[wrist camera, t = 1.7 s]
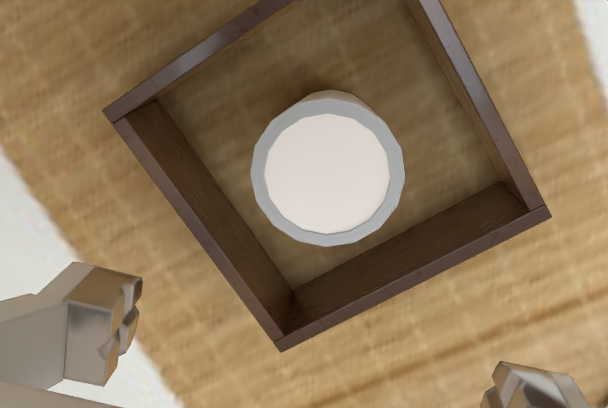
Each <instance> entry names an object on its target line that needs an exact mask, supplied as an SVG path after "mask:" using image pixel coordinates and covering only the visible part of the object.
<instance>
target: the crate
mask: <svg viewBox="0 0 608 408" xmlns="http://www.w3.org/2000/svg"><path fill="white" fill-rule="evenodd" d="M302 1H303V0H260V1H258V2H257V3H255V4H254V5H252V6H251V7H249V8H248V9H247V10H245V11H244V12H242V13H241V14H239V15H238V16H236V17H235V18H234V19H232V20H231V21H229V22H228V23H226V24H225V25H223V26H222V27H221V28H219V29H218V30H216V31H215V32H213V33H212V34H210V35H209V36H208V37H206V38H205V39H203V40H202V41H200V42H199V43H198V44H196V45H195V46H193V47H192V48H190V49H189V50H187V51H186V52H185V53H183V54H182V55H180V56H179V57H177V58H176V59H174V60H173V61H172V62H170V63H169V64H167V65H166V66H164V67H163V68H161V69H160V70H159V71H157V72H156V73H154V74H153V75H151V76H150V77H148V78H147V79H146V80H144V81H143V82H141V83H140V84H138V85H137V86H135V87H134V88H133V89H131V90H130V91H128V92H127V93H125V94H124V95H123V96H121V97H120V98H118V99H117V100H115V101H114V102H112V103H111V104H110V105H108V106H107V107H105V108H104V109H102V112H103V113H104V115H105V116H106V117H107V119H108V120H109V121H110V123H111V124H113V127H114V128H115V129H116V131H117V132H118V133H119V135H120V136H121V137H122V139H123V140H124V142H125V143H126V144H127V146H128V147H129V148H130V150H131V151H132V152H133V154H134V155H135V156H136V158H137V159H138V160H139V162H140V163H141V165H142V166H143V167H144V169H145V170H146V171H147V173H148V174H149V175H150V177H151V178H152V179H153V181H154V182H155V183H156V185H157V186H158V187H159V189H160V190H161V192H162V193H163V194H164V196H165V197H166V198H167V200H168V201H169V202H170V204H171V205H172V206H173V208H174V209H175V210H176V212H177V213H178V215H179V216H180V217H181V219H182V220H183V221H184V223H185V224H186V225H187V227H188V228H189V229H190V231H191V232H192V233H193V235H194V236H195V238H196V239H197V240H198V242H199V243H200V244H201V246H202V247H203V248H204V250H205V251H206V252H207V254H208V255H209V256H210V258H211V259H212V260H213V262H214V263H215V265H216V266H217V267H218V269H219V270H220V271H221V273H222V274H223V275H224V277H225V278H226V279H227V281H228V282H229V283H230V285H231V286H232V288H233V289H234V290H235V292H236V293H237V294H238V296H239V297H240V298H241V300H242V301H243V302H244V304H245V305H246V306H247V308H248V309H249V310H250V312H251V313H252V315H253V316H254V317H255V319H256V320H257V321H258V323H259V324H260V325H261V327H262V328H263V329H264V331H265V332H266V333H267V335H268V336H269V338H270V339H271V340H272V341H273V343H274V344H275V346H276V347H277V348H278V350H279V351H280V352H281V353H282V352H284V351H286V350H288V349H290V348H292V347H294V346H296V345H298V344H300V343H302V342H304V341H306V340H308V339H310V338H312V337H314V336H316V335H318V334H320V333H322V332H324V331H326V330H328V329H330V328H332V327H334V326H336V325H338V324H340V323H342V322H344V321H346V320H348V319H350V318H352V317H354V316H356V315H358V314H360V313H362V312H364V311H366V310H368V309H370V308H372V307H374V306H376V305H378V304H380V303H382V302H384V301H386V300H388V299H390V298H392V297H394V296H396V295H398V294H400V293H402V292H404V291H406V290H408V289H410V288H412V287H414V286H416V285H418V284H420V283H422V282H424V281H426V280H428V279H430V278H432V277H434V276H436V275H438V274H440V273H442V272H444V271H446V270H448V269H450V268H452V267H454V266H456V265H458V264H460V263H462V262H464V261H466V260H468V259H470V258H472V257H474V256H476V255H478V254H480V253H482V252H484V251H486V250H488V249H490V248H492V247H494V246H496V245H498V244H500V243H502V242H504V241H506V240H508V239H510V238H512V237H514V236H516V235H518V234H520V233H522V232H524V231H526V230H528V229H530V228H532V227H534V226H536V225H538V224H540V223H542V222H544V221H546V220H548V219H550V218H551V217H552V215H551V214H550V212H549V210H548V208H547V206H546V204H545V202H544V200H543V198H542V196H541V194H540V192H539V190H538V188H537V187H536V185H535V183H534V181H533V179H532V177H531V175H530V173H529V171H528V169H527V167H526V165H525V163H524V161H523V160H522V158H521V156H520V154H519V152H518V150H517V148H516V146H515V144H514V142H513V140H512V138H511V136H510V134H509V133H508V131H507V129H506V127H505V125H504V123H503V121H502V119H501V117H500V115H499V113H498V111H497V109H496V107H495V106H494V104H493V102H492V100H491V98H490V96H489V94H488V92H487V90H486V88H485V86H484V84H483V82H482V80H481V78H480V77H479V75H478V73H477V71H476V69H475V67H474V65H473V63H472V61H471V59H470V57H469V55H468V53H467V51H466V50H465V48H464V46H463V44H462V42H461V40H460V38H459V36H458V34H457V32H456V30H455V28H454V26H453V24H452V23H451V21H450V19H449V17H448V15H447V13H446V11H445V9H444V7H443V5H442V3H441V1H440V0H405V2H406V4H407V6H408V8H409V10H410V11H411V13H412V15H413V17H414V19H415V21H416V23H417V24H418V26H419V28H420V30H421V32H422V34H423V36H424V37H425V39H426V41H427V43H428V45H429V47H430V49H431V51H432V52H433V54H434V56H435V58H436V60H437V62H438V64H439V65H440V67H441V69H442V71H443V73H444V75H445V77H446V78H447V80H448V82H449V84H450V86H451V88H452V90H453V92H454V93H455V95H456V97H457V99H458V101H459V103H460V105H461V106H462V108H463V110H464V112H465V114H466V116H467V118H468V119H469V121H470V123H471V125H472V127H473V129H474V131H475V132H476V134H477V136H478V138H479V140H480V142H481V144H482V146H483V147H484V149H485V151H486V153H487V155H488V157H489V159H490V160H491V162H492V164H493V166H494V168H495V170H496V172H497V173H498V175H499V177H500V179H501V180H502V181H500V182H498V183H496V184H494V185H492V186H491V187H489V188H487V189H485V190H483V191H481V192H479V193H477V194H475V195H473V196H472V197H470V198H468V199H466V200H464V201H462V202H460V203H458V204H456V205H455V206H453V207H451V208H449V209H447V210H445V211H443V212H441V213H439V214H438V215H436V216H434V217H432V218H430V219H428V220H426V221H424V222H422V223H421V224H419V225H417V226H415V227H413V228H411V229H409V230H407V231H405V232H404V233H402V234H400V235H398V236H396V237H394V238H392V239H390V240H388V241H387V242H385V243H383V244H381V245H379V246H377V247H375V248H373V249H371V250H370V251H368V252H366V253H364V254H362V255H360V256H358V257H356V258H354V259H353V260H351V261H349V262H347V263H345V264H343V265H341V266H339V267H337V268H336V269H334V270H332V271H330V272H328V273H326V274H324V275H322V276H320V277H319V278H317V279H315V280H313V281H311V282H309V283H307V284H305V285H303V286H302V287H300V288H298V289H296V290H294V291H292V289H291V288H290V287H289V285H288V284H287V282H286V281H285V279H284V278H283V277H282V275H281V274H280V272H279V271H278V270H277V268H276V267H275V265H274V264H273V262H272V261H271V260H270V258H269V257H268V255H267V254H266V252H265V251H264V250H263V248H262V247H261V245H260V244H259V243H258V241H257V240H256V238H255V237H254V235H253V234H252V233H251V231H250V230H249V228H248V227H247V226H246V224H245V223H244V221H243V220H242V218H241V217H240V216H239V214H238V213H237V211H236V210H235V208H234V207H233V206H232V204H231V203H230V201H229V200H228V199H227V197H226V196H225V194H224V193H223V191H222V190H221V189H220V187H219V186H218V184H217V183H216V181H215V180H214V179H213V177H212V176H211V174H210V173H209V172H208V170H207V169H206V167H205V166H204V164H203V163H202V162H201V160H200V159H199V157H198V156H197V154H196V153H195V152H194V150H193V149H192V147H191V146H190V145H189V143H188V142H187V140H186V139H185V137H184V136H183V135H182V133H181V132H180V130H179V129H178V128H177V126H176V125H175V123H174V122H173V120H172V119H171V118H170V116H169V115H168V113H167V112H166V110H165V109H164V108H163V106H162V105H161V103H160V102H159V101H158V100H157V99H159V98H160V97H162V96H163V95H165V94H166V93H167V92H169V91H170V90H172V89H173V88H175V87H176V86H178V85H179V84H181V83H182V82H184V81H185V80H187V79H188V78H190V77H191V76H193V75H194V74H196V73H197V72H198V71H200V70H201V69H203V68H204V67H206V66H207V65H209V64H210V63H212V62H213V61H215V60H216V59H218V58H219V57H221V56H222V55H224V54H225V53H227V52H228V51H229V50H231V49H232V48H234V47H235V46H237V45H238V44H240V43H241V42H243V41H244V40H246V39H247V38H249V37H250V36H252V35H253V34H255V33H256V32H257V31H259V30H260V29H262V28H263V27H265V26H266V25H268V24H269V23H271V22H272V21H274V20H275V19H277V18H278V17H280V16H281V15H283V14H284V13H286V12H287V11H288V10H290V9H291V8H293V7H294V6H296V5H297V4H299V3H300V2H302Z"/></svg>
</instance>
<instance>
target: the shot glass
mask: <svg viewBox="0 0 608 408" xmlns="http://www.w3.org/2000/svg"><path fill="white" fill-rule="evenodd" d="M250 177H251V181H252V185H253V189H254V193H255V198H256V202H257V203H258V205H259V206H260V208H261V209H262V210H263V212H264V213H265V215H266V216H267V217H268V219H269V220H270V221H271V223H272V224H273V225H274V226H275V227H277V228H278V229H280V230H281V231H283V232H284V233H286V234H287V235H289V236H291V237H292V238H294V239H295V240H297V241H300V242H305V243H310V244H314V245H319V246H324V247H328V246H335V245H342V244H349V243H355V242H356V241H358V240H360V239H362V238H363V237H365V236H367V235H369V234H370V233H372V232H374V231H376V230H378V229H379V228H380V227H381V226H382V225H383V223H384V222H385V221H386V220H387V218H388V217H389V216H390V215H391V213H392V212H393V211H394V210H395V208H396V207H397V206H398V202H399V199H400V195H401V192H402V188H403V185H404V181H405V171H404V164H403V157H402V150H401V147H400V146H399V144H398V142H397V141H396V139H395V137H394V136H393V134H392V133H391V131H390V129H389V128H388V126H387V125H386V123H385V122H384V121H383V120H382V119H381V118H380V117H379V116H378V115H377V114H376V113H375V112H374V111H373V110H372V109H371V108H370V107H369V106H368V105H367V104H366V103H364V102H363V101H361V100H360V99H358V98H357V97H356V96H354V95H353V94H351V93H347V92H342V91H338V90H333V89H330V90H324V91H319V92H313V93H311V94H309V95H308V96H306V97H305V98H303V99H301V100H300V101H298V102H297V103H295V104H294V105H293V106H291V107H290V108H288V109H287V110H286V111H284V112H283V113H281V114H280V115H279V116H277V117H276V118H275V119H273V120H272V121H271V122H270V124H269V125H268V127H267V128H266V130H265V131H264V133H263V134H262V136H261V137H260V139H259V140H258V142H257V143H256V145H255V148H254V154H253V160H252V166H251V171H250Z"/></svg>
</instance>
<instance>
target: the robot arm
mask: <svg viewBox="0 0 608 408" xmlns="http://www.w3.org/2000/svg"><path fill="white" fill-rule="evenodd" d="M142 284H143V281H142V278H141V277H138V276H134V275H130V274H126V273H122V272H118V271H114V270H110V269H106V268H102V267H97V266H95V265H90V264H86V263H81V262H72V263H71V264H70V265H69V266H67V267H66V268H65V269H64V270H63V271H62V272H61V273H60V274H59V275H58V276H57V277H55V278H54V279H53V280H52V281H51V282H50V283H49V284H48V285H47V286H46V287H45V288H43V289H42V290H41V291H40V292H39V293H38V294H37V295H34V294H26V295H22V296H18V297H15V298H11V299H7V300H3V301H0V408H122V407H117V406H113V405H109V404H104V403H100V402H96V401H91V400H87V399H82V398H78V397H74V396H69V395H65V394H61V393H56V392H52V391H47V390H46V389H48V388H50V387H52V386H54V385H56V384H57V383H59V382H61V381H63V379H68V380H73V381H78V382H83V383H88V384H93V385H98V386H103V387H104V386H105V384H106V383H107V381H108V379H109V378H110V376H111V375H112V373H113V372H114V370H115V369H116V367H117V362H118V356H120V355H123V354H125V353H126V351H127V350H128V348H129V346H130V345H131V342H132V340H133V337H134V335H135V332H136V328H137V323H138V317H139V311H138V309H137V308H136V306H135V304H136V302H137V301H138V299H139V298H140V297H141V295H142ZM492 378H493V381H494V383H495V386H494V387H492V388H491V389H489V390H487V391H486V392H485V394H484V396H483V399H482V402H481V404H480V408H591V407H590V405H589V404H588V402H587V400H586V399H585V397H584V396H583V394H582V392H581V391H580V389H579V388H578V386H577V384H576V383H575V381H574V380H573V378H572V377H571V376H569V375H568V374H564V373H558V372H553V371H548V370H543V369H538V368H533V367H528V366H523V365H518V364H513V363H508V362H503V361H500V362H499V363H498V365H497V366H496V367H495V370H494V372H493V374H492Z"/></svg>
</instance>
